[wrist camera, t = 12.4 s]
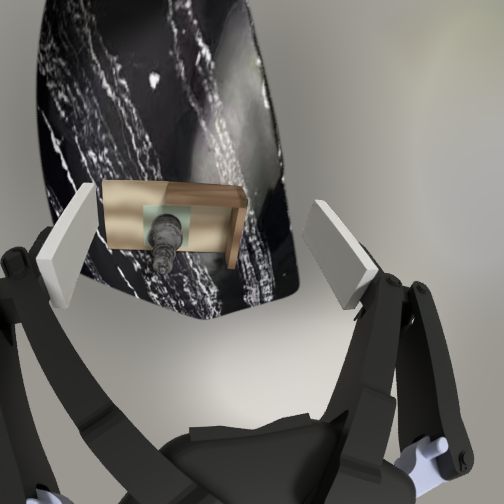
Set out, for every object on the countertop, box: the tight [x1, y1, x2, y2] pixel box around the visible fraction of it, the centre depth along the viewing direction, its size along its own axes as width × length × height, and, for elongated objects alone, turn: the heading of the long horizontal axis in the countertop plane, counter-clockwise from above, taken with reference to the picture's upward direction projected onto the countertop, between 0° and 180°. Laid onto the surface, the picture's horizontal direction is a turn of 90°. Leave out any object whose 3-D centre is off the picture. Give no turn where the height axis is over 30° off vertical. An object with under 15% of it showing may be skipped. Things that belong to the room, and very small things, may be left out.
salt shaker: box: [147, 214, 183, 274], centre depth 41 cm, size 6×6×12 cm
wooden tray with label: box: [102, 180, 248, 269], centre depth 43 cm, size 13×23×6 cm, turn 79°
